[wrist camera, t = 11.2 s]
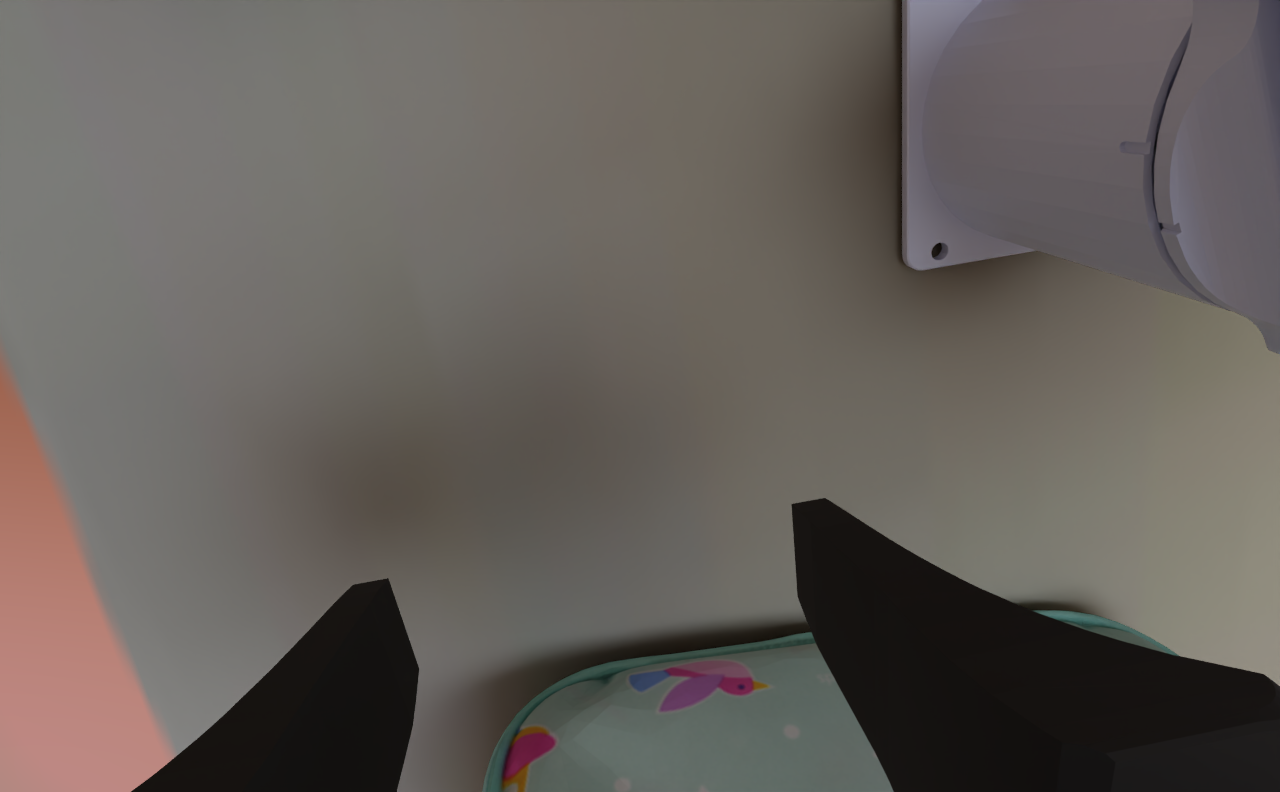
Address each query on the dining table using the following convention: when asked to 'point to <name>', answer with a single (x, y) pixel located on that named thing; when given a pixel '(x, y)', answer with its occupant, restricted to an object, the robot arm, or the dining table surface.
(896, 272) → the dining table surface
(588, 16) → the dining table surface
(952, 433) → the dining table surface
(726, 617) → the dining table surface
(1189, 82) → the robot arm
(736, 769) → the lunch box
